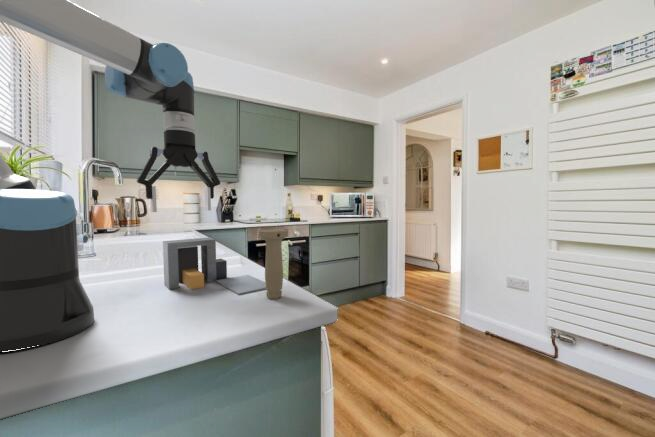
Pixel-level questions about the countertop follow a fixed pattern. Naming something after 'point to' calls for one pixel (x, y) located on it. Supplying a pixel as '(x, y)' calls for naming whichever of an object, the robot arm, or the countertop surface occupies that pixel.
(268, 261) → the handle
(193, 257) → the grey and tan block
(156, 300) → the countertop surface
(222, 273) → the housing
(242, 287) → the mat
